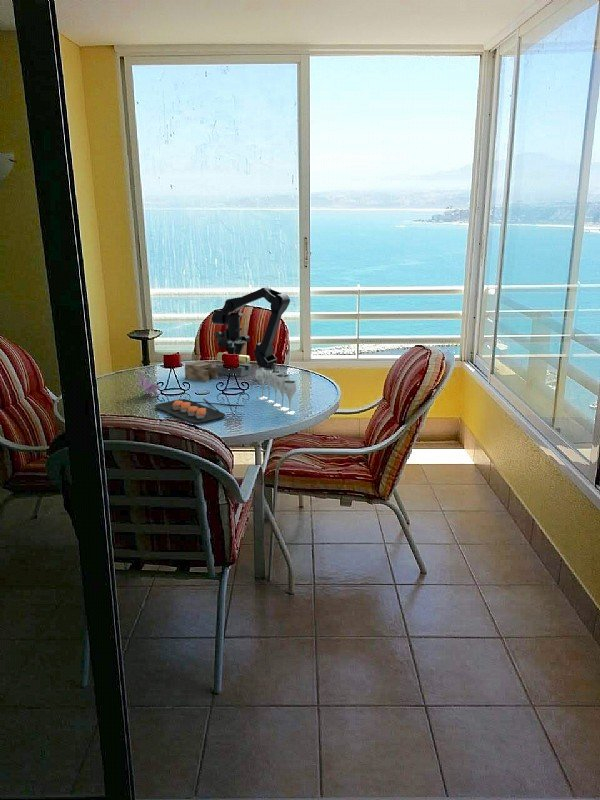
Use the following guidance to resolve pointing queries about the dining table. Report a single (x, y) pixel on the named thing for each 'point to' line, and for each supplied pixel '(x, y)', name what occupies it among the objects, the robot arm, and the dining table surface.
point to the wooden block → (200, 371)
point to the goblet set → (276, 386)
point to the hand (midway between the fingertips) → (234, 359)
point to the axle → (242, 358)
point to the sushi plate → (192, 410)
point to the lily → (147, 385)
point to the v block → (235, 370)
